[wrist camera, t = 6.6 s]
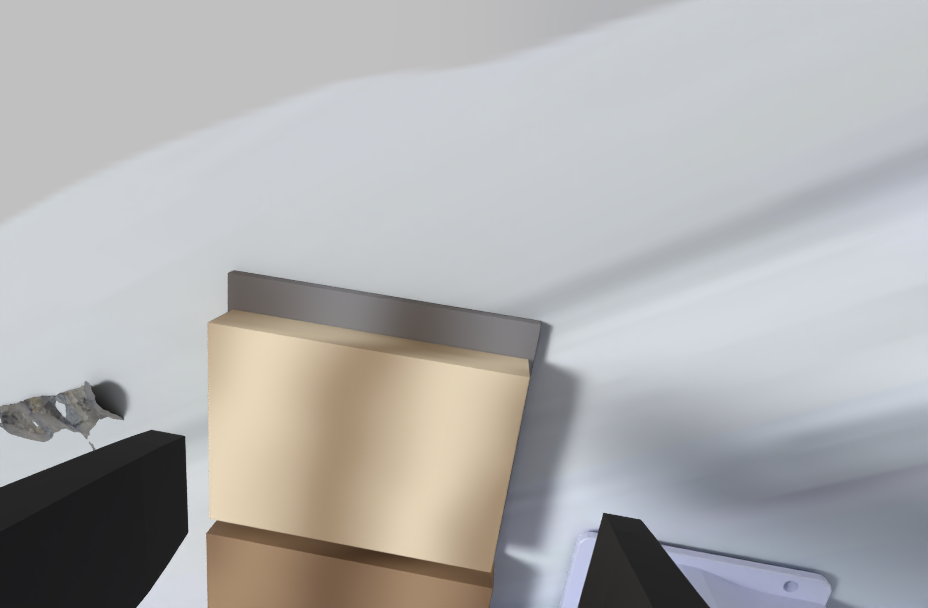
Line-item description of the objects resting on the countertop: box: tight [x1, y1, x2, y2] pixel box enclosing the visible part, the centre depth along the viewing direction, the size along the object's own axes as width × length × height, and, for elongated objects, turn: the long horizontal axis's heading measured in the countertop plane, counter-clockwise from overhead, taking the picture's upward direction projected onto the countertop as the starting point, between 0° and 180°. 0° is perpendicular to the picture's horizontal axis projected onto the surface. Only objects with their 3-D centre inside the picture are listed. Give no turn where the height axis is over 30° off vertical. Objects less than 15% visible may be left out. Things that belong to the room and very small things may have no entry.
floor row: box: [206, 271, 541, 608], centre depth 18 cm, size 11×16×2 cm
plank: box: [208, 310, 530, 573], centre depth 17 cm, size 11×8×2 cm
